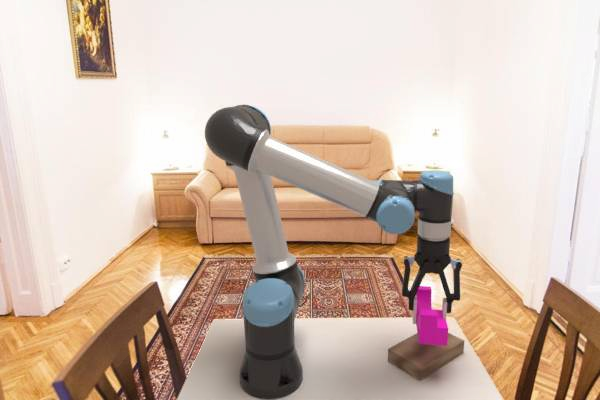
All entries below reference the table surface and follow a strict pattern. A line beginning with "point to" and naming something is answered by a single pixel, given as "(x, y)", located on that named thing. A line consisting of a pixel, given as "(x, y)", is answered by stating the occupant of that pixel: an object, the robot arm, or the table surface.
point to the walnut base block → (424, 355)
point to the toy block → (429, 320)
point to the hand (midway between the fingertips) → (428, 322)
